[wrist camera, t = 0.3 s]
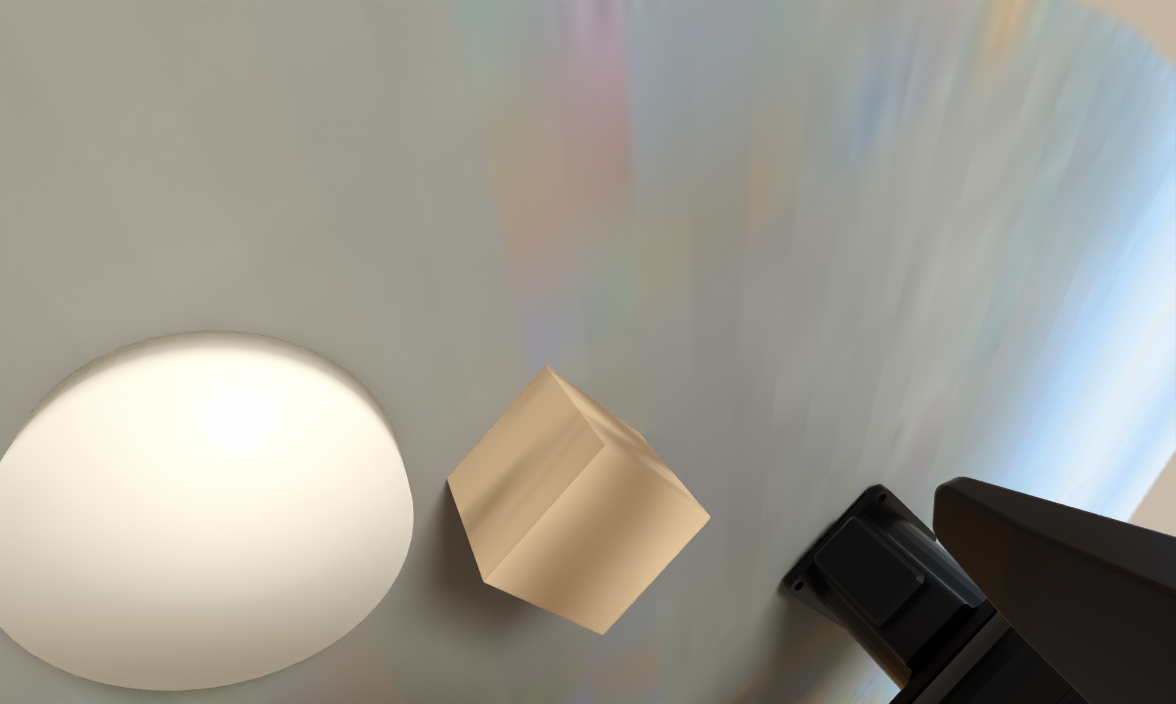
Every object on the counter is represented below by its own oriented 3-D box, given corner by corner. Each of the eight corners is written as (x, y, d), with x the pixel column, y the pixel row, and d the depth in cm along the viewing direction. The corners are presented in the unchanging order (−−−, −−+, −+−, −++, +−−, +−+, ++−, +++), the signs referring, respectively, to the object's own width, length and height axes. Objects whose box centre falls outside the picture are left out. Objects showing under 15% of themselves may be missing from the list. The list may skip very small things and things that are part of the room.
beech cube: (639, 433, 25) (710, 517, 21) (550, 533, 26) (602, 635, 21) (544, 364, 22) (605, 445, 18) (446, 477, 23) (483, 581, 19)
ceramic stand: (464, 439, 22) (484, 483, 20) (273, 659, 23) (272, 723, 21) (154, 256, 17) (137, 291, 15) (-83, 554, 18) (-131, 627, 16)
